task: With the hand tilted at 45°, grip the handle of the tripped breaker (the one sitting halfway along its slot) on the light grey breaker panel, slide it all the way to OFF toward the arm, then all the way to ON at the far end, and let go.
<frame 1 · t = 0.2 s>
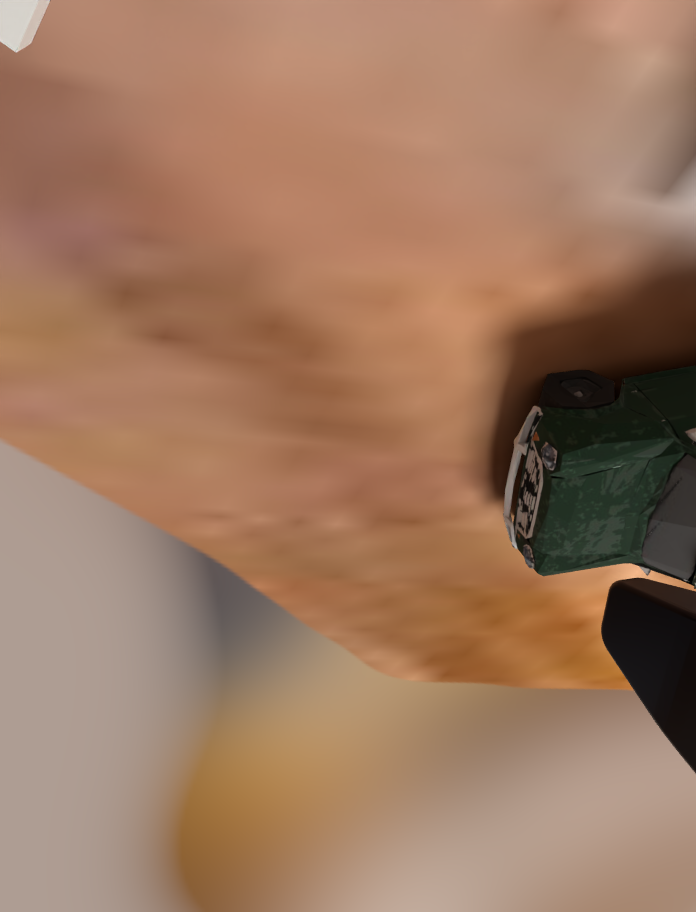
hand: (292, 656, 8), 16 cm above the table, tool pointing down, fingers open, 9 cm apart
miniature car: (658, 422, 30), on the table
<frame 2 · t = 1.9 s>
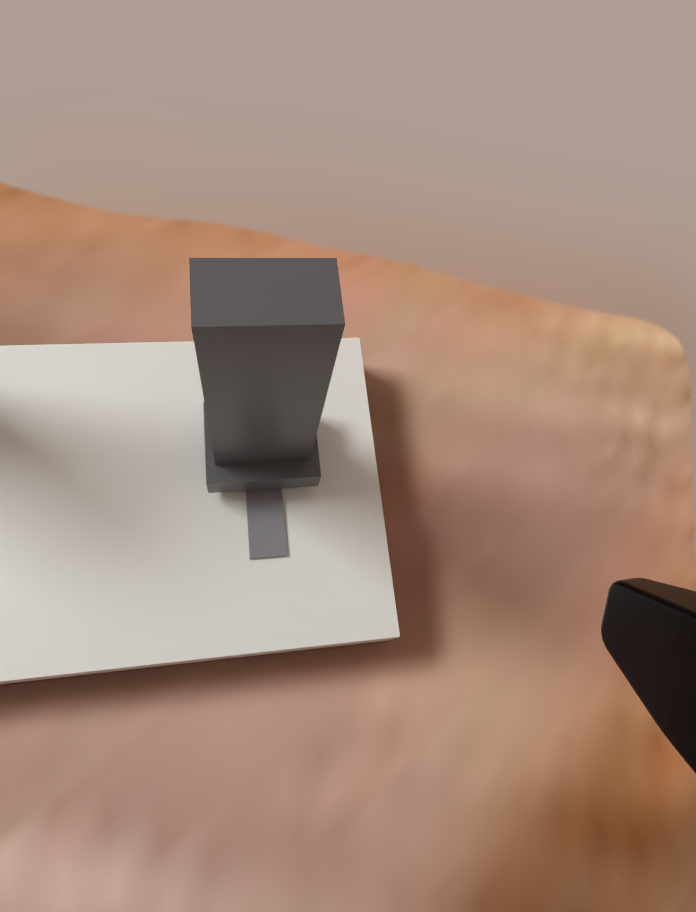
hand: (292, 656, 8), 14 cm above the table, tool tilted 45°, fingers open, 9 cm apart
tripped breaker: (263, 390, 16), point 7 cm above the table, slide at 0.0 cm
breaker panel: (90, 509, 21), on the table
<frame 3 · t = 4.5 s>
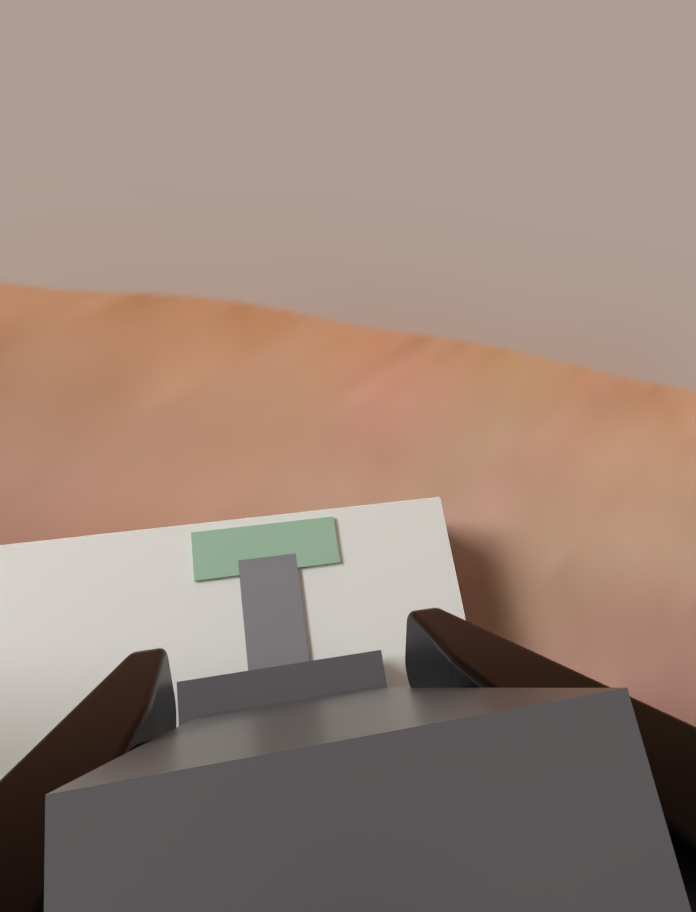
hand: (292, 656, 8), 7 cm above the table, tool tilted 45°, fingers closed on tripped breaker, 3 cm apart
tripped breaker: (308, 782, 7), point 7 cm above the table, slide at 0.0 cm, touching gripper
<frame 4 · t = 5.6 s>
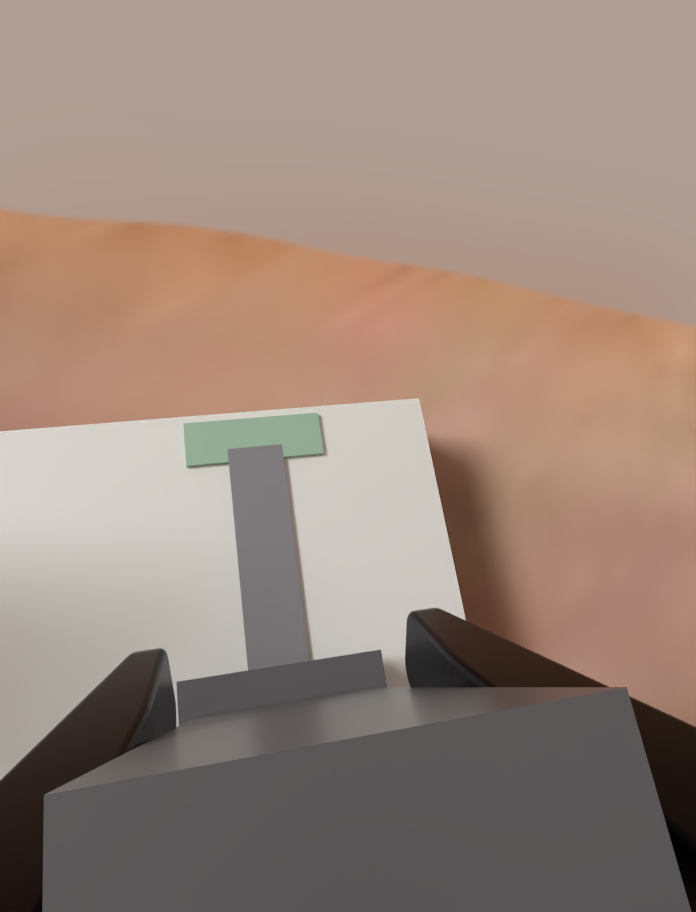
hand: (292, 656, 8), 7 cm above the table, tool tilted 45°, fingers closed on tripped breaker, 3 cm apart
tripped breaker: (308, 782, 7), point 7 cm above the table, slide at -2.5 cm, touching gripper
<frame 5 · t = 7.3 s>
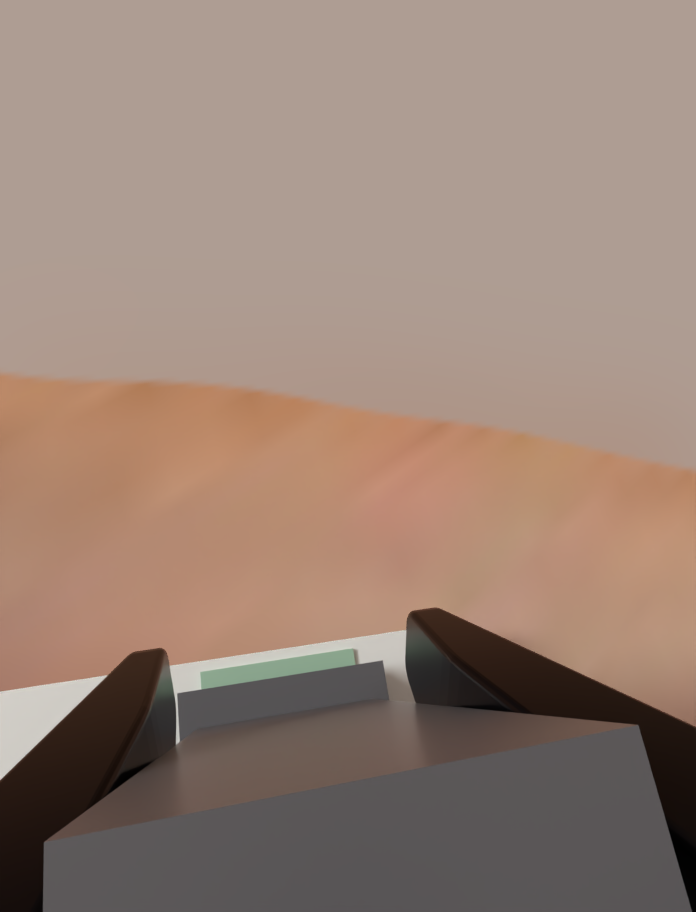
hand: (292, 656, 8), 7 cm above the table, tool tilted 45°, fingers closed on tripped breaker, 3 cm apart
tripped breaker: (311, 800, 7), point 7 cm above the table, slide at 2.6 cm, touching gripper
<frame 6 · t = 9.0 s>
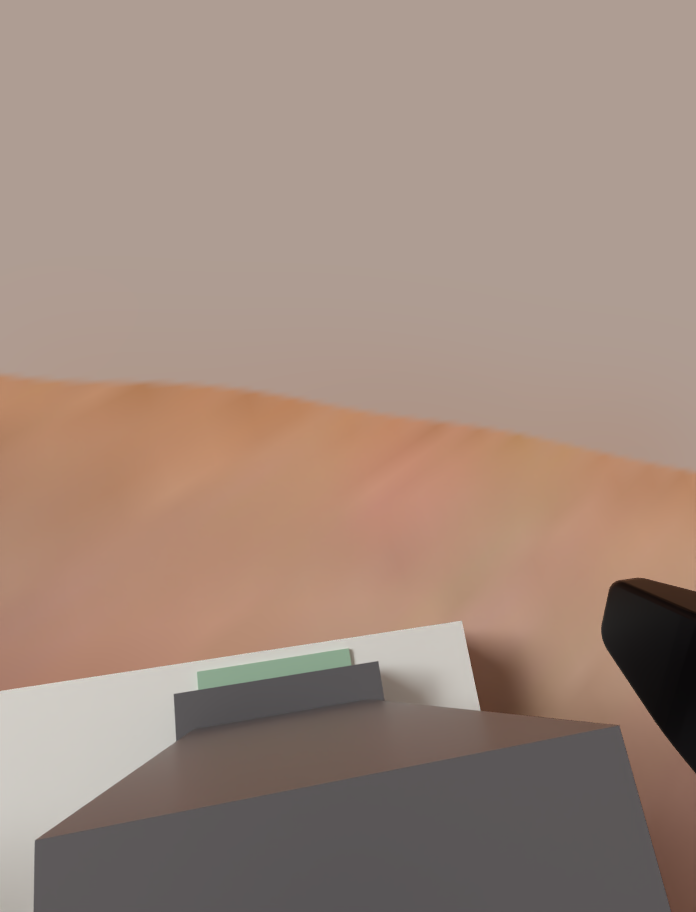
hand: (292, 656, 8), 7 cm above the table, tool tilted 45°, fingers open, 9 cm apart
tripped breaker: (304, 800, 7), point 7 cm above the table, slide at 2.6 cm
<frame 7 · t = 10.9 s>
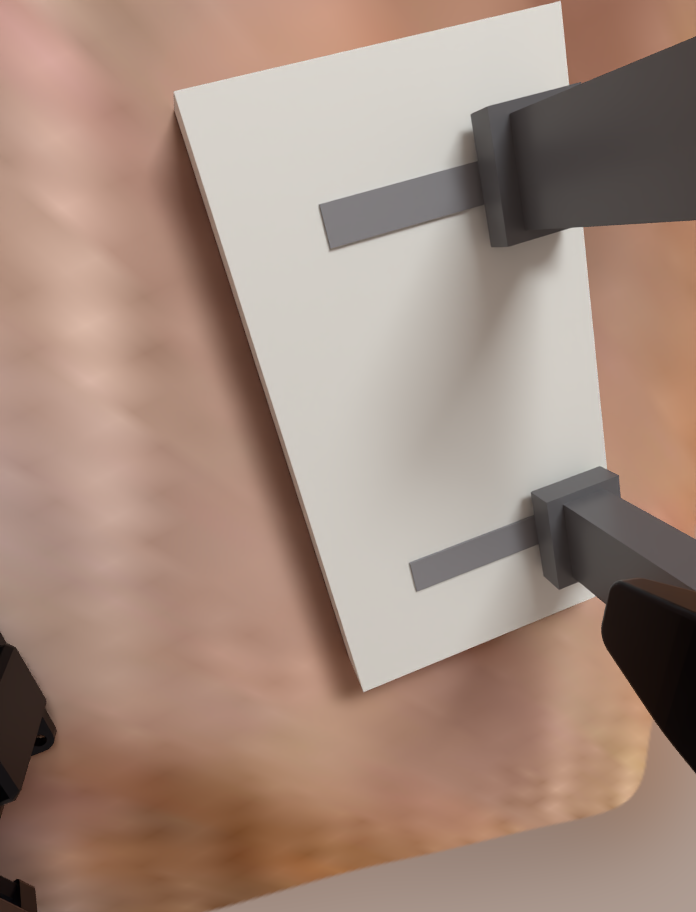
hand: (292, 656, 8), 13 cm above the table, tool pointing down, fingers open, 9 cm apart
on breaker: (630, 146, 14), point 7 cm above the table, slide at 2.5 cm
tripped breaker: (661, 584, 18), point 7 cm above the table, slide at 2.6 cm
breaker panel: (424, 384, 22), on the table
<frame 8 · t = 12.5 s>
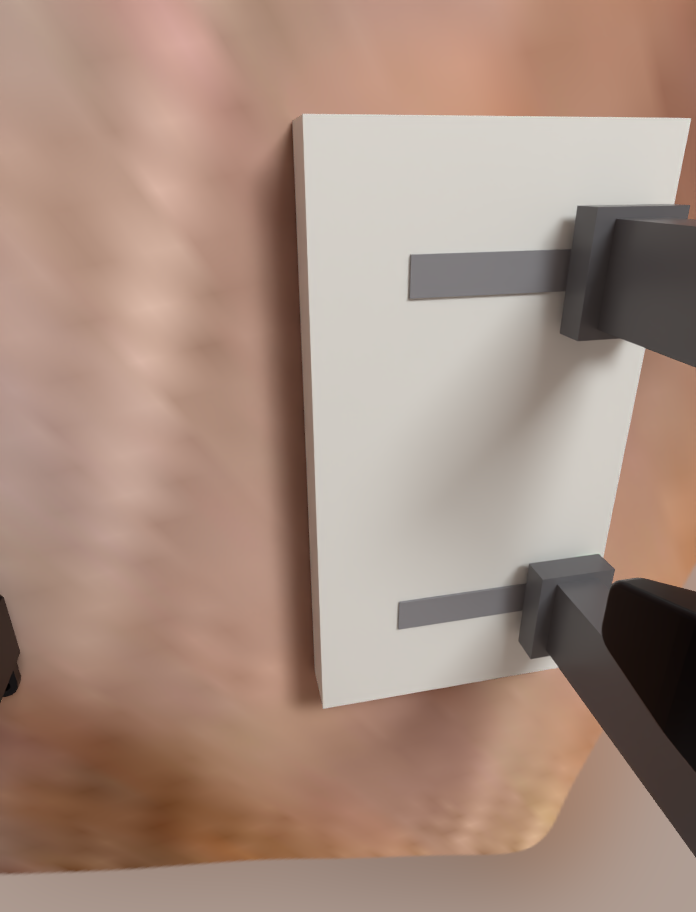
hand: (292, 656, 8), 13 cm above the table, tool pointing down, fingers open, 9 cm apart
tripped breaker: (631, 686, 19), point 7 cm above the table, slide at 2.6 cm
breaker panel: (456, 436, 22), on the table
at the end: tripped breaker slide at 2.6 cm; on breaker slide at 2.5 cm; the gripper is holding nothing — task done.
